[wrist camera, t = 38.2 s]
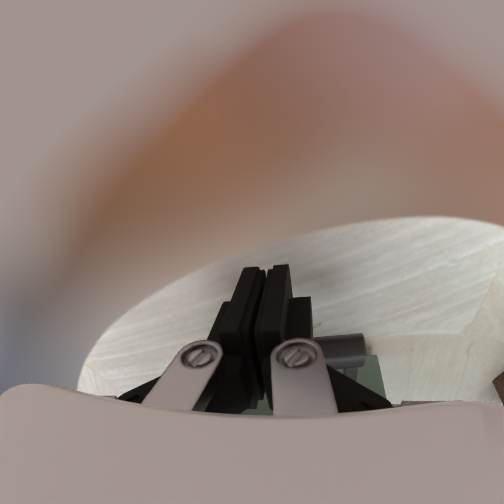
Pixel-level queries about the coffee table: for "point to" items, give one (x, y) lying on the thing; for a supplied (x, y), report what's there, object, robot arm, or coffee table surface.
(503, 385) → the block
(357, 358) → the pull-out drawer
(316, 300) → the coffee table surface
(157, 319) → the coffee table surface
